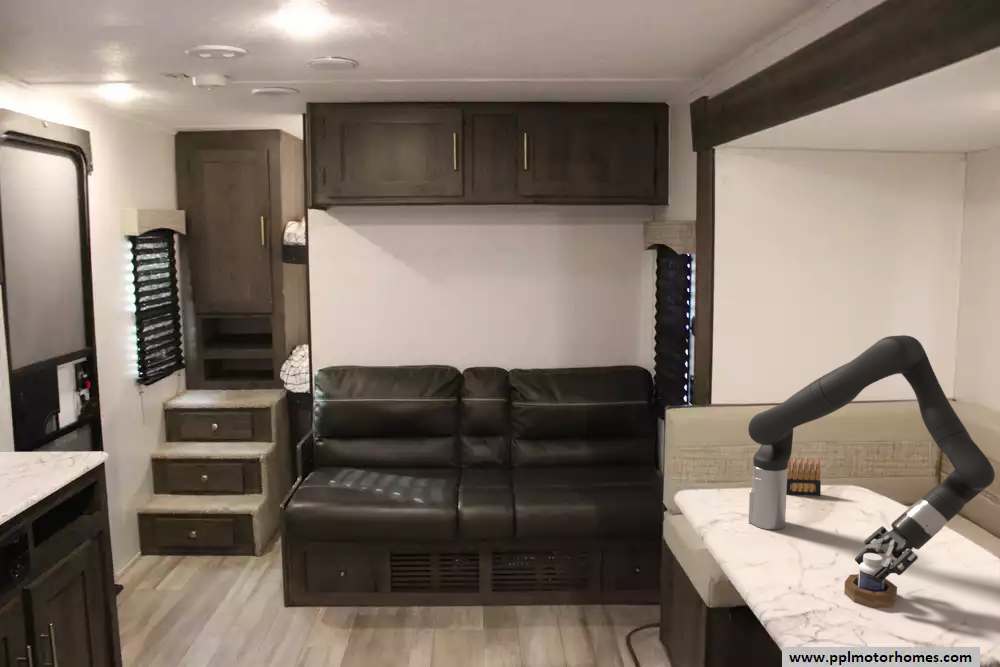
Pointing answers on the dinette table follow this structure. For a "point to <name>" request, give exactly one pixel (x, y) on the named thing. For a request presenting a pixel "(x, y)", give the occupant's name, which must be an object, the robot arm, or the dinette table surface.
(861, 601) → the walnut ring
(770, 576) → the dinette table surface
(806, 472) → the ammunition clip
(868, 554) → the pill bottle
